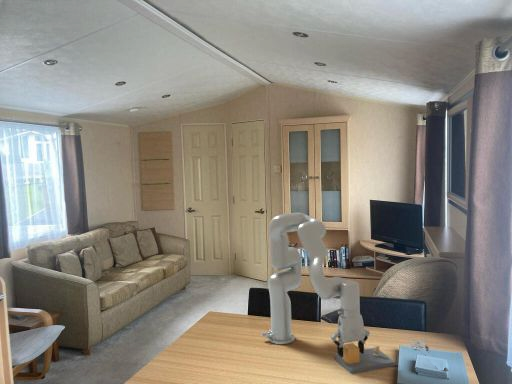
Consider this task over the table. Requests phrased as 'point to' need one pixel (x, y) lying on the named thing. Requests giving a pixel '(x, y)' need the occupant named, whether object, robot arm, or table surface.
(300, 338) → the table surface
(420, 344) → the adjustable wrench
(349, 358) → the orange block
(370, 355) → the terminal board
